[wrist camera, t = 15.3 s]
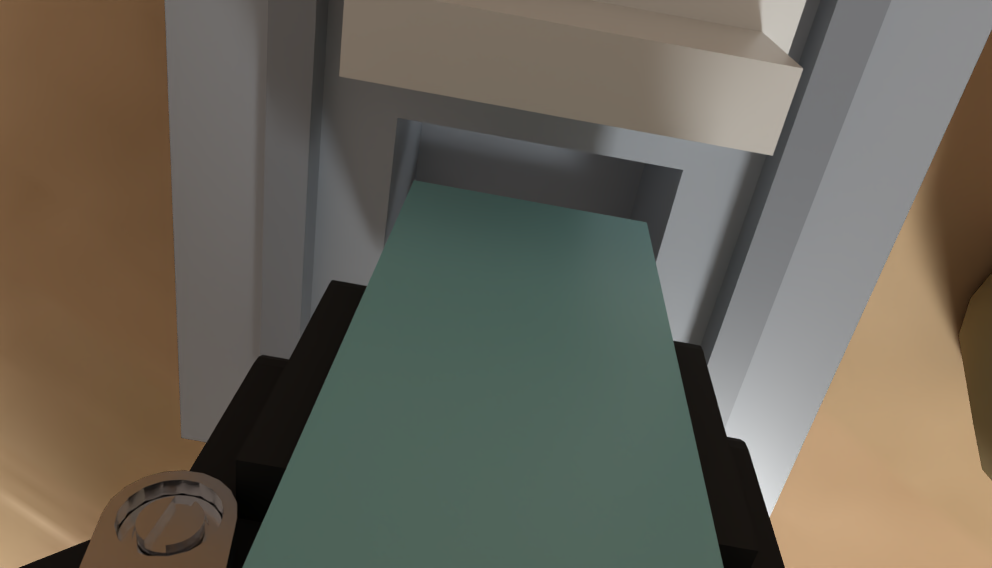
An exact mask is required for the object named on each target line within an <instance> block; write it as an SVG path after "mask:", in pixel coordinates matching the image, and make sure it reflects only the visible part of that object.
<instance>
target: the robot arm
mask: <svg viewBox="0 0 992 568" xmlns="http://www.w3.org/2000/svg"><path fill="white" fill-rule="evenodd" d="M366 287H367V286H365V285H359V284H354V283H348V282H342V281H337V280H331V282H330V283H329V285H328V287H327V289H326V291H325V292H324V294H323V296H322V298H321V300H320V302H319V304H318V306H317V308H316V309H315V311H314V313H313V315H312V317H311V319H310V321H309V323H308V325H307V326H306V328H305V330H304V332H303V334H302V336H301V338H300V340H299V341H298V343H297V345H296V347H295V349H294V351H293V353H292V355H291V357H290V358H289V359H285V358H279V357H273V356H268V355H261V356H259V357H258V358H257V359H256V361H255V362H254V363H253V365H252V367H251V368H250V370H249V372H248V374H247V375H246V377H245V379H244V380H243V382H242V384H241V385H240V387H239V389H238V390H237V392H236V394H235V395H234V397H233V399H232V400H231V402H230V404H229V405H228V407H227V409H226V411H225V412H224V414H223V416H222V417H221V419H220V421H219V422H218V424H217V426H216V427H215V429H214V431H213V432H212V434H211V436H210V437H209V439H208V441H207V442H206V444H205V446H204V447H203V449H202V451H201V453H200V454H199V456H198V458H197V459H196V461H195V463H194V464H193V466H192V468H191V469H190V471H185V470H183V471H168V472H162V473H158V474H154V475H151V476H147V477H144V478H142V479H140V480H138V481H136V482H134V483H132V484H130V485H128V486H126V487H125V488H124V489H122V490H121V491H120V492H119V493H118V494H116V495H115V496H114V497H113V498H112V499H111V500H110V502H109V503H108V505H107V506H106V508H105V509H104V511H103V512H102V514H101V516H100V519H99V521H98V524H97V526H96V528H95V531H94V533H93V536H92V538H91V540H88V541H86V542H83V543H81V544H78V545H75V546H73V547H70V548H68V549H65V550H63V551H60V552H58V553H55V554H53V555H50V556H47V557H45V558H42V559H40V560H37V561H35V562H32V563H30V564H27V565H25V566H22V567H19V568H242V567H243V565H244V563H245V561H246V558H247V556H248V554H249V552H250V549H251V547H252V545H253V543H254V540H255V538H256V536H257V533H258V531H259V529H260V527H261V524H262V522H263V520H264V518H265V515H266V513H267V511H268V509H269V506H270V504H271V502H272V500H273V497H274V495H275V493H276V491H277V488H278V486H279V484H280V482H281V479H282V477H283V475H284V472H285V470H286V468H287V466H288V463H289V461H290V459H291V457H292V454H293V452H294V450H295V448H296V445H297V443H298V441H299V439H300V436H301V434H302V432H303V430H304V427H305V425H306V423H307V421H308V418H309V416H310V414H311V412H312V409H313V407H314V405H315V402H316V400H317V398H318V396H319V393H320V391H321V389H322V387H323V384H324V382H325V380H326V378H327V375H328V373H329V371H330V369H331V366H332V364H333V362H334V360H335V357H336V355H337V353H338V351H339V348H340V346H341V344H342V341H343V339H344V337H345V335H346V332H347V330H348V328H349V326H350V323H351V321H352V319H353V317H354V314H355V312H356V310H357V308H358V305H359V303H360V301H361V299H362V296H363V294H364V292H365V290H366ZM673 342H674V347H675V351H676V356H677V360H678V365H679V369H680V374H681V378H682V383H683V387H684V392H685V396H686V401H687V405H688V410H689V414H690V419H691V423H692V428H693V432H694V437H695V441H696V446H697V450H698V455H699V459H700V464H701V468H702V473H703V477H704V482H705V486H706V491H707V495H708V500H709V504H710V509H711V513H712V518H713V522H714V527H715V531H716V536H717V540H718V545H719V549H720V554H721V558H722V563H723V567H724V568H785V567H784V563H783V560H782V557H781V554H780V550H779V547H778V544H777V541H776V537H775V534H774V531H773V528H772V524H771V521H770V518H769V515H768V511H767V508H766V505H765V502H764V498H763V495H762V492H761V489H760V485H759V482H758V479H757V475H756V472H755V469H754V466H753V462H752V459H751V456H750V453H749V450H748V447H747V445H746V443H745V442H744V441H743V440H741V439H737V438H731V437H727V435H726V431H725V428H724V424H723V421H722V417H721V413H720V410H719V406H718V403H717V399H716V395H715V392H714V388H713V385H712V381H711V377H710V374H709V370H708V367H707V363H706V359H705V356H704V352H703V349H702V347H701V346H700V345H695V344H690V343H684V342H679V341H673Z"/></svg>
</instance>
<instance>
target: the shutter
mask: <svg viewBox="0 0 992 568" xmlns="http://www.w3.org/2000/svg"><path fill="white" fill-rule="evenodd" d="M805 3H806V0H344V10H343V25H342V40H341V55H340V70H339V76H340V77H345V78H351V79H356V80H362V81H367V82H373V83H378V84H384V85H389V86H395V87H400V88H405V89H411V90H416V91H422V92H427V93H433V94H438V95H444V96H449V97H455V98H460V99H466V100H471V101H476V102H482V103H487V104H493V105H498V106H504V107H509V108H515V109H520V110H526V111H531V112H537V113H542V114H547V115H553V116H558V117H564V118H569V119H575V120H580V121H586V122H591V123H597V124H602V125H608V126H613V127H618V128H624V129H629V130H635V131H640V132H646V133H651V134H657V135H662V136H668V137H673V138H679V139H684V140H689V141H695V142H700V143H706V144H711V145H717V146H722V147H728V148H733V149H739V150H744V151H750V152H755V153H760V154H766V155H771V156H773V153H774V151H775V148H776V145H777V142H778V139H779V136H780V134H781V131H782V128H783V125H784V122H785V119H786V116H787V114H788V111H789V108H790V105H791V102H792V99H793V97H794V94H795V91H796V88H797V85H798V82H799V79H800V77H801V74H802V71H803V68H802V67H801V66H800V65H799V64H798V63H797V62H795V61H794V60H793V59H792V58H791V57H790V56H789V55H788V53H789V50H790V47H791V44H792V41H793V38H794V35H795V32H796V30H797V27H798V24H799V21H800V18H801V15H802V12H803V9H804V6H805Z"/></svg>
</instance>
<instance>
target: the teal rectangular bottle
mask: <svg viewBox="0 0 992 568" xmlns="http://www.w3.org/2000/svg"><path fill="white" fill-rule="evenodd" d="M242 568H724V567H723V563H722V558H721V554H720V549H719V545H718V540H717V536H716V531H715V527H714V522H713V518H712V513H711V509H710V504H709V500H708V495H707V491H706V486H705V482H704V477H703V473H702V468H701V464H700V459H699V455H698V450H697V446H696V441H695V437H694V432H693V428H692V423H691V419H690V414H689V410H688V405H687V401H686V396H685V392H684V387H683V383H682V378H681V374H680V369H679V365H678V360H677V356H676V351H675V347H674V342H673V338H672V333H671V329H670V324H669V320H668V315H667V311H666V306H665V302H664V297H663V293H662V288H661V284H660V279H659V275H658V271H657V266H656V262H655V257H654V253H653V248H652V244H651V239H650V235H649V230H648V226H647V222H642V221H636V220H631V219H625V218H620V217H614V216H609V215H603V214H598V213H592V212H587V211H581V210H576V209H570V208H565V207H559V206H554V205H548V204H543V203H537V202H532V201H526V200H521V199H515V198H510V197H504V196H499V195H493V194H488V193H482V192H477V191H471V190H465V189H460V188H454V187H449V186H443V185H438V184H432V183H427V182H421V181H416V180H414V181H413V183H412V186H411V188H410V190H409V192H408V195H407V197H406V199H405V201H404V204H403V206H402V208H401V210H400V213H399V215H398V217H397V219H396V222H395V224H394V226H393V229H392V231H391V233H390V235H389V238H388V240H387V242H386V244H385V247H384V249H383V251H382V253H381V256H380V258H379V260H378V262H377V265H376V267H375V269H374V271H373V274H372V276H371V278H370V280H369V283H368V285H367V287H366V290H365V292H364V294H363V296H362V299H361V301H360V303H359V305H358V308H357V310H356V312H355V314H354V317H353V319H352V321H351V323H350V326H349V328H348V330H347V332H346V335H345V337H344V339H343V341H342V344H341V346H340V348H339V351H338V353H337V355H336V357H335V360H334V362H333V364H332V366H331V369H330V371H329V373H328V375H327V378H326V380H325V382H324V384H323V387H322V389H321V391H320V393H319V396H318V398H317V400H316V402H315V405H314V407H313V409H312V412H311V414H310V416H309V418H308V421H307V423H306V425H305V427H304V430H303V432H302V434H301V436H300V439H299V441H298V443H297V445H296V448H295V450H294V452H293V454H292V457H291V459H290V461H289V463H288V466H287V468H286V470H285V472H284V475H283V477H282V479H281V482H280V484H279V486H278V488H277V491H276V493H275V495H274V497H273V500H272V502H271V504H270V506H269V509H268V511H267V513H266V515H265V518H264V520H263V522H262V524H261V527H260V529H259V531H258V533H257V536H256V538H255V540H254V543H253V545H252V547H251V549H250V552H249V554H248V556H247V558H246V561H245V563H244V565H243V567H242Z"/></svg>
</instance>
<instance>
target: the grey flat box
mask: <svg viewBox="0 0 992 568" xmlns="http://www.w3.org/2000/svg"><path fill="white" fill-rule="evenodd" d="M343 10H344V0H165V24H166V50H167V76H168V102H169V128H170V154H171V180H172V206H173V232H174V258H175V284H176V310H177V336H178V362H179V388H180V414H181V438H185V439H191V440H196V441H202V442H207V441H208V439H209V437H210V436H211V434H212V432H213V431H214V429H215V427H216V426H217V424H218V422H219V421H220V419H221V417H222V416H223V414H224V412H225V411H226V409H227V407H228V405H229V404H230V402H231V400H232V399H233V397H234V395H235V394H236V392H237V390H238V389H239V387H240V385H241V384H242V382H243V380H244V379H245V377H246V375H247V374H248V372H249V370H250V368H251V367H252V365H253V363H254V362H255V361H256V359H257V358H258V357H259V356H261V355H268V356H273V357H279V358H285V359H289V358H290V357H291V355H292V353H293V351H294V349H295V347H296V345H297V343H298V341H299V340H300V338H301V336H302V334H303V332H304V330H305V328H306V326H307V325H308V323H309V321H310V319H311V317H312V315H313V313H314V311H315V309H316V308H317V306H318V304H319V302H320V300H321V298H322V296H323V294H324V292H325V291H326V289H327V287H328V285H329V283H330V282H331V280H337V281H342V282H348V283H354V284H359V285H365V286H367V285H368V283H369V280H370V278H371V276H372V274H373V271H374V269H375V267H376V265H377V262H378V260H379V258H380V256H381V253H382V251H383V249H384V247H385V244H386V242H387V240H388V238H389V235H390V233H391V231H392V229H393V226H394V224H395V222H396V219H397V217H398V215H399V213H400V210H401V208H402V206H403V204H404V201H405V199H406V197H407V195H408V192H409V190H410V188H411V186H412V183H413V181H414V180H416V181H421V182H427V183H432V184H438V185H443V186H449V187H454V188H460V189H465V190H471V191H477V192H482V193H488V194H493V195H499V196H504V197H510V198H515V199H521V200H526V201H532V202H537V203H543V204H548V205H554V206H559V207H565V208H570V209H576V210H581V211H587V212H592V213H598V214H603V215H609V216H614V217H620V218H625V219H631V220H636V221H642V222H647V226H648V230H649V235H650V239H651V244H652V248H653V253H654V257H655V262H656V266H657V271H658V275H659V279H660V284H661V288H662V293H663V297H664V302H665V306H666V311H667V315H668V320H669V324H670V329H671V333H672V338H673V341H679V342H684V343H690V344H695V345H700V346H701V347H702V349H703V352H704V356H705V359H706V363H707V367H708V370H709V374H710V377H711V381H712V385H713V388H714V392H715V395H716V399H717V403H718V406H719V410H720V413H721V417H722V421H723V424H724V428H725V431H726V435H727V437H731V438H737V439H741V440H743V441H744V442H745V443H746V445H747V447H748V450H749V453H750V456H751V459H752V462H753V466H754V469H755V472H756V475H757V479H758V482H759V485H760V489H761V492H762V495H763V498H764V502H765V505H766V508H767V511H768V515H769V517H770V515H771V513H772V511H773V508H774V506H775V504H776V502H777V500H778V497H779V495H780V493H781V491H782V489H783V487H784V484H785V482H786V480H787V478H788V476H789V473H790V471H791V469H792V467H793V465H794V462H795V460H796V458H797V456H798V454H799V451H800V449H801V447H802V445H803V443H804V440H805V438H806V436H807V434H808V432H809V429H810V427H811V425H812V423H813V421H814V418H815V416H816V414H817V412H818V410H819V407H820V405H821V403H822V401H823V399H824V397H825V394H826V392H827V390H828V388H829V386H830V383H831V381H832V379H833V377H834V375H835V372H836V370H837V368H838V366H839V364H840V361H841V359H842V357H843V355H844V353H845V350H846V348H847V346H848V344H849V342H850V339H851V337H852V335H853V333H854V331H855V328H856V326H857V324H858V322H859V320H860V318H861V315H862V313H863V311H864V309H865V307H866V304H867V302H868V300H869V298H870V296H871V293H872V291H873V289H874V287H875V285H876V282H877V280H878V278H879V276H880V274H881V271H882V269H883V267H884V265H885V263H886V260H887V258H888V256H889V254H890V252H891V249H892V247H893V245H894V243H895V241H896V238H897V236H898V234H899V232H900V230H901V228H902V225H903V223H904V221H905V219H906V217H907V214H908V212H909V210H910V208H911V206H912V203H913V201H914V199H915V197H916V195H917V192H918V190H919V188H920V186H921V184H922V181H923V179H924V177H925V175H926V173H927V170H928V168H929V166H930V164H931V162H932V159H933V157H934V155H935V153H936V151H937V149H938V146H939V144H940V142H941V140H942V138H943V135H944V133H945V131H946V129H947V127H948V124H949V122H950V120H951V118H952V116H953V113H954V111H955V109H956V107H957V105H958V102H959V100H960V98H961V96H962V94H963V91H964V89H965V87H966V85H967V83H968V80H969V78H970V76H971V74H972V72H973V69H974V67H975V65H976V63H977V61H978V59H979V56H980V54H981V52H982V50H983V48H984V45H985V43H986V41H987V39H988V37H989V34H990V32H991V30H992V0H806V3H805V6H804V9H803V12H802V15H801V18H800V21H799V24H798V27H797V30H796V32H795V35H794V38H793V41H792V44H791V47H790V50H789V53H788V55H789V56H790V57H791V58H792V59H793V60H794V61H795V62H797V63H798V64H799V65H800V66H801V67H802V68H803V71H802V74H801V77H800V79H799V82H798V85H797V88H796V91H795V94H794V97H793V99H792V102H791V105H790V108H789V111H788V114H787V116H786V119H785V122H784V125H783V128H782V131H781V134H780V136H779V139H778V142H777V145H776V148H775V151H774V153H773V156H771V155H766V154H760V153H755V152H750V151H744V150H739V149H733V148H728V147H722V146H717V145H711V144H706V143H700V142H695V141H689V140H684V139H679V138H673V137H668V136H662V135H657V134H651V133H646V132H640V131H635V130H629V129H624V128H618V127H613V126H608V125H602V124H597V123H591V122H586V121H580V120H575V119H569V118H564V117H558V116H553V115H547V114H542V113H537V112H531V111H526V110H520V109H515V108H509V107H504V106H498V105H493V104H487V103H482V102H476V101H471V100H466V99H460V98H455V97H449V96H444V95H438V94H433V93H427V92H422V91H416V90H411V89H405V88H400V87H395V86H389V85H384V84H378V83H373V82H367V81H362V80H356V79H351V78H345V77H340V76H339V70H340V55H341V40H342V25H343Z"/></svg>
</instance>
